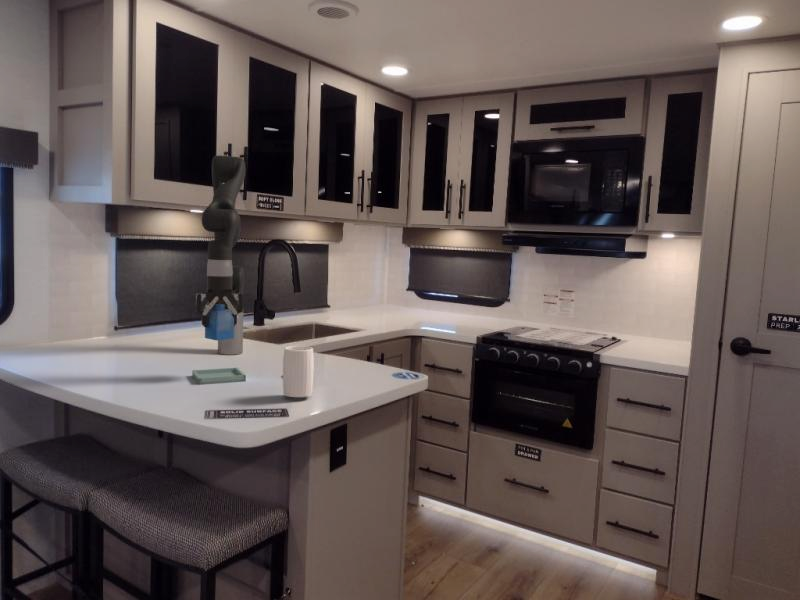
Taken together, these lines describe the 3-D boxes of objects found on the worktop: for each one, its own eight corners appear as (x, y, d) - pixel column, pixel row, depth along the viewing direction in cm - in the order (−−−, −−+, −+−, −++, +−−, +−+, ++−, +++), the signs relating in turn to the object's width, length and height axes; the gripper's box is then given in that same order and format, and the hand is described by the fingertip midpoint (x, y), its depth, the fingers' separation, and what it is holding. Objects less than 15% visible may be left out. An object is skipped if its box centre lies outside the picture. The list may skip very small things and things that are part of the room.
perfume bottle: (222, 335, 190) (222, 298, 189) (233, 338, 186) (234, 300, 185) (204, 337, 186) (205, 299, 184) (216, 340, 182) (216, 301, 181)
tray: (192, 375, 189) (192, 370, 189) (237, 373, 196) (237, 367, 196) (198, 384, 179) (198, 378, 178) (245, 381, 185) (245, 375, 185)
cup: (291, 392, 173) (292, 344, 172) (317, 396, 171) (319, 347, 170) (276, 399, 165) (277, 349, 164) (304, 403, 163) (305, 352, 162)
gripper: (240, 273, 191) (239, 324, 192) (193, 273, 184) (193, 325, 186) (245, 275, 184) (245, 327, 186) (197, 275, 178) (197, 329, 179)
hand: (219, 326), depth 186 cm, fingers closed on perfume bottle, 8 cm apart
